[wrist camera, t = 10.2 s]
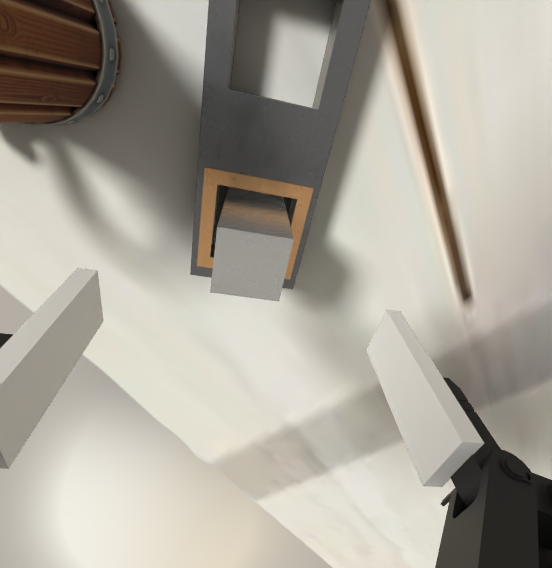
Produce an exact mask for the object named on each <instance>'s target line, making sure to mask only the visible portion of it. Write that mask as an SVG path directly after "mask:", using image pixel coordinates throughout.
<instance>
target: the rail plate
mask: <svg viewBox="0 0 552 568" xmlns="http://www.w3.org/2000/svg"><path fill="white" fill-rule="evenodd" d="M239 1H240V0H209V7H208V22H207V36H206V51H205V66H204V81H203V96H202V110H201V125H200V140H199V155H198V170H197V185H196V199H195V214H194V229H193V244H192V259H191V273H190V274H191V275H198V276H205V277H212V271H213V261H214V252H215V244H214V237H215V228H216V218H217V209H218V200H219V190H220V185H224V186H229V187H235V188H240V189H245V190H251V191H256V192H261V193H267V194H272V195H277V196H283V197H288V198H292V200H291V205H290V209H289V214H288V218H289V222H290V226H291V230H292V234H293V238H294V241H293V245H292V249H291V253H290V257H289V261H288V266H287V270H286V274H285V278H284V282H283V286H282V288H289V289H293V287H294V283H295V279H296V275H297V272H298V268H299V264H300V261H301V257H302V253H303V249H304V246H305V242H306V238H307V235H308V231H309V227H310V223H311V220H312V216H313V212H314V209H315V205H316V201H317V197H318V194H319V190H320V186H321V182H322V179H323V175H324V171H325V168H326V164H327V160H328V156H329V153H330V149H331V145H332V142H333V138H334V134H335V130H336V127H337V123H338V119H339V116H340V112H341V108H342V104H343V101H344V97H345V93H346V90H347V86H348V82H349V78H350V75H351V71H352V67H353V64H354V60H355V56H356V52H357V49H358V45H359V41H360V38H361V34H362V30H363V26H364V23H365V19H366V15H367V12H368V8H369V4H370V0H333V1H337V2H336V7H335V11H334V15H333V20H332V24H331V29H330V33H329V37H328V42H327V46H326V51H325V55H324V59H323V64H322V68H321V73H320V77H319V81H318V86H317V90H316V95H315V99H314V103H313V108H309V107H305V106H301V105H297V104H292V103H288V102H284V101H279V100H275V99H271V98H266V97H262V96H258V95H253V94H249V93H245V92H241V91H236V90H232V89H230V86H231V77H232V67H233V58H234V48H235V39H236V29H237V20H238V10H239Z"/></svg>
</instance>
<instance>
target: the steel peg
mask: <svg viewBox="0 0 552 568" xmlns="http://www.w3.org/2000/svg"><path fill="white" fill-rule="evenodd" d="M293 241H294V238H293V234H292V230H291V226H290V222H289V218H288V214H287V210H286V206H285V202H284V198H283V196H277V195H272V194H267V193H261V192H256V191H251V190H245V189H240V188H235V187H229V188H228V191H227V195H226V198H225V202H224V205H223V208H222V212H221V215H220V219H219V222H218V226H217V233H216V242H215V252H214V261H213V271H212V280H211V290H210V292H212V293H220V294H228V295H235V296H243V297H250V298H258V299H265V300H273V301H279V298H280V294H281V290H282V286H283V282H284V278H285V274H286V270H287V266H288V261H289V257H290V253H291V249H292V245H293Z"/></svg>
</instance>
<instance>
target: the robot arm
mask: <svg viewBox="0 0 552 568" xmlns="http://www.w3.org/2000/svg"><path fill="white" fill-rule="evenodd" d="M102 322H103V314H102V305H101V297H100V288H99V280H98V271H97V270H90V269H82V268H77V269H76V270H75V271H74V272H73V273H72V274H71V275H70V276H69V278H68V279H67V280H66V281H65V282H64V283H63V284H62V285H61V286H60V287H59V288H58V289H57V290H56V291H55V292H54V293H53V294H52V295H51V296H50V297H49V298H48V299H47V300H46V301H45V302H44V304H43V305H42V306H41V307H40V308H39V309H38V310H37V311H36V312H35V313H34V314H33V315H32V316H31V317H30V318H29V319H28V320H27V321H26V322H25V323H24V324H23V325H22V327H20V328H19V329H18V331H17V332H16V333H15V334H14V335H12V334H2V333H0V468H10V466H11V464H12V463H13V461H14V460H15V458H16V457H17V455H18V454H19V452H20V450H21V449H22V447H23V446H24V444H25V443H26V441H27V439H28V438H29V436H30V435H31V433H32V432H33V430H34V428H35V427H36V425H37V424H38V422H39V421H40V419H41V418H42V416H43V414H44V413H45V411H46V410H47V408H48V407H49V405H50V403H51V402H52V400H53V399H54V397H55V396H56V394H57V393H58V391H59V389H60V388H61V386H62V385H63V383H64V382H65V380H66V378H67V377H68V375H69V373H70V372H71V371H72V369H73V367H74V366H75V364H76V363H77V361H78V360H79V358H80V357H81V355H82V354H83V352H84V350H85V349H86V347H87V346H88V344H89V343H90V341H91V339H92V338H93V336H94V335H95V333H96V332H97V330H98V329H99V327H100V325H101V324H102ZM366 351H367V353H368V356H369V358H370V360H371V363H372V365H373V368H374V370H375V373H376V375H377V377H378V380H379V382H380V385H381V387H382V389H383V392H384V394H385V397H386V399H387V401H388V404H389V406H390V409H391V411H392V414H393V416H394V418H395V421H396V423H397V426H398V428H399V430H400V433H401V435H402V438H403V440H404V443H405V445H406V447H407V450H408V452H409V455H410V457H411V459H412V462H413V464H414V467H415V469H416V471H417V474H418V476H419V479H420V481H421V484H422V486H433V487H442V486H443V485H444V484H445V483H446V482H447V481H448V480H449V479H450V478H451V479H452V481H453V483H454V485H455V487H456V488H455V489H454V490H453V491H452V492H451V493H449V494H448V495H447V496H446V497H445V498H444V499H443V501H442V503H441V505H442V506H445V505H446V504H447V503H448V502H449V506H448V511H447V515H446V520H445V525H444V530H443V534H442V539H441V544H440V548H439V553H438V558H437V562H436V567H435V568H552V480H550V479H547V478H545V477H542V476H539V475H537V474H534V473H532V472H531V471H530V469H529V468H528V467H527V466H526V465H525V464H524V463H523V462H522V461H521V460H520V459H519V458H517V457H516V456H515V455H513V454H511V453H509V452H507V451H505V450H501V449H500V448H499V446H498V445H497V443H496V442H495V440H494V439H493V437H492V436H491V434H490V433H489V431H488V430H487V428H486V427H485V425H484V424H483V422H482V421H481V419H480V418H479V416H478V415H477V413H476V412H474V409H473V407H472V406H471V404H470V403H468V400H467V398H466V397H465V395H464V394H463V392H462V391H461V389H460V388H459V387H458V386H457V385H456V384H455V383H453V382H452V381H451V380H450V379H449V378H443V377H442V376H441V374H440V373H439V371H438V369H437V368H436V366H435V365H434V363H433V362H432V360H431V358H430V357H429V355H428V354H427V352H426V350H425V349H424V347H423V346H422V344H421V343H420V341H419V339H418V338H417V336H416V335H415V333H414V332H413V330H412V328H411V327H410V325H409V324H408V322H407V321H406V319H405V317H404V316H403V314H402V313H401V311H394V310H386V311H385V313H384V315H383V317H382V319H381V321H380V323H379V325H378V327H377V329H376V331H375V334H374V336H373V338H372V340H371V342H370V344H369V346H368V348H367V350H366Z"/></svg>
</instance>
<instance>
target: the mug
mask: <svg viewBox="0 0 552 568" xmlns="http://www.w3.org/2000/svg"><path fill="white" fill-rule="evenodd" d="M116 24H117V21H116V18H115V15H114V12H113V9H112V6H111V3H110V1H109V0H0V122H17V123H24V124H31V125H38V126H58V125H65V124H72V123H77V122H79V121H81V120H83V119H85V118H87V117H89V116H91V115H93V114H94V113H95V112H96V111H97V110H98V109H99V108H102V107H103V106H104V105H105V103H106V102H107V101H108V100H109V99H110V97H111V95H112V93H113V91H114V89H115V87H116V83H115V78H116V75H117V74H119V73H120V65H121V42H120V38H119V37H118V36H117V34H116Z"/></svg>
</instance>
